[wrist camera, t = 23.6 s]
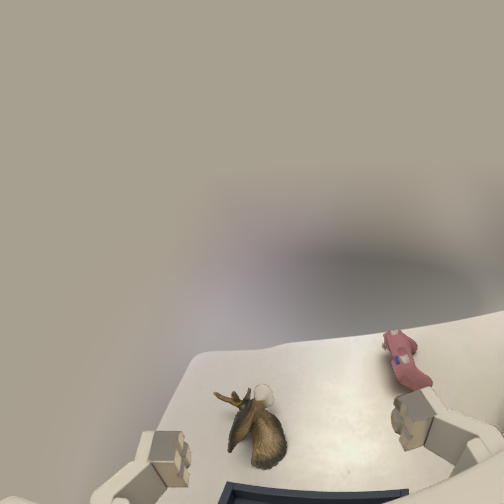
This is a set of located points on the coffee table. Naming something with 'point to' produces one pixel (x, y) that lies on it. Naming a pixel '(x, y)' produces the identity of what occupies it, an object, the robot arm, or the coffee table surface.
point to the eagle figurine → (257, 426)
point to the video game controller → (405, 360)
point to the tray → (302, 496)
